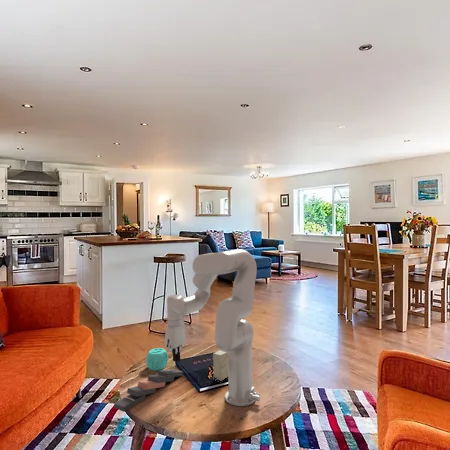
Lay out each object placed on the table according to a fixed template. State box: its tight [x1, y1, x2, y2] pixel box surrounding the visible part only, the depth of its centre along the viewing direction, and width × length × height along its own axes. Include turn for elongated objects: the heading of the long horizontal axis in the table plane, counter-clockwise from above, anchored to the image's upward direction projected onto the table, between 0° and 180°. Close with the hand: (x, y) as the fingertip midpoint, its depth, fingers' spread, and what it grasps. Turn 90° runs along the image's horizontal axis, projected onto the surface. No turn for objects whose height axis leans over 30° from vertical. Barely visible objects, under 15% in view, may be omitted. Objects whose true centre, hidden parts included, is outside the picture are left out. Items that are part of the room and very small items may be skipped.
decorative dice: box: [145, 347, 169, 371], centre depth 170 cm, size 8×8×8 cm
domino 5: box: [157, 368, 184, 378], centre depth 157 cm, size 2×6×11 cm
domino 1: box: [113, 394, 146, 413], centre depth 137 cm, size 2×6×11 cm
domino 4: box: [147, 374, 175, 383], centre depth 152 cm, size 2×6×11 cm
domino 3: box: [137, 379, 166, 389], centre depth 147 cm, size 2×6×11 cm
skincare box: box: [212, 349, 228, 382], centre depth 156 cm, size 6×4×12 cm
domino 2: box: [126, 385, 157, 397], centre depth 142 cm, size 2×6×11 cm
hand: (176, 360), depth 161 cm, fingers closed
